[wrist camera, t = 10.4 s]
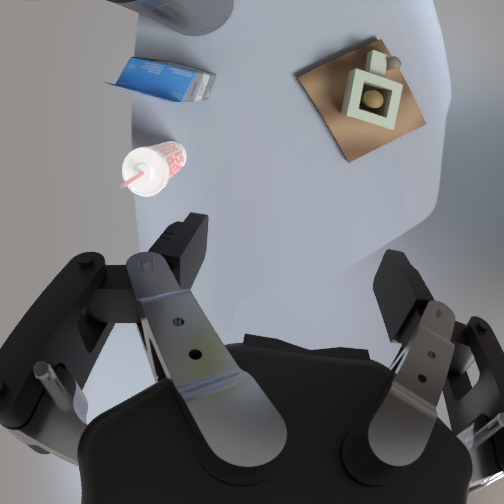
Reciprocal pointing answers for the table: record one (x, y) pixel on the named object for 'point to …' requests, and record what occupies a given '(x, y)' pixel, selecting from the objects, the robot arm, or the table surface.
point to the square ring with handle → (376, 80)
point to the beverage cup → (152, 167)
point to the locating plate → (351, 127)
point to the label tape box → (165, 80)
